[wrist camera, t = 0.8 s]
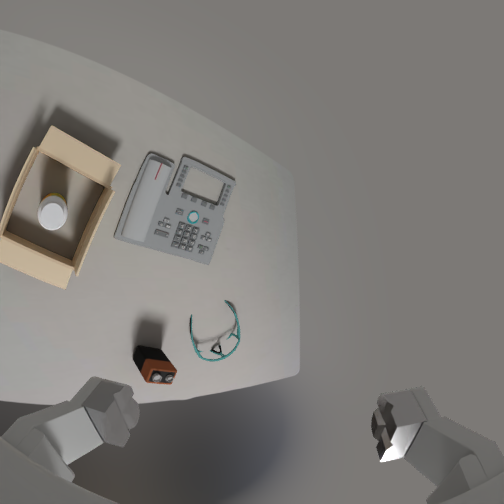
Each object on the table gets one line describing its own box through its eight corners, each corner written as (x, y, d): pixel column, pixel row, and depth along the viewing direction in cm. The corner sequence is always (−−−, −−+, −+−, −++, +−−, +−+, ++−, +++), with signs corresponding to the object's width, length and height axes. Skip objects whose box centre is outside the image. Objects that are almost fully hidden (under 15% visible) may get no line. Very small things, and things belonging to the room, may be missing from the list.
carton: (-4, 252, 34) (-12, 266, 28) (50, 127, 35) (48, 119, 29) (66, 282, 44) (69, 300, 39) (118, 166, 46) (128, 166, 40)
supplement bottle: (66, 191, 41) (68, 196, 34) (67, 220, 42) (69, 232, 35) (39, 193, 37) (35, 199, 30) (40, 223, 39) (37, 236, 32)
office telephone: (114, 241, 48) (153, 139, 47) (112, 237, 49) (148, 140, 49) (212, 267, 63) (243, 183, 62) (206, 263, 65) (236, 182, 64)
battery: (137, 344, 58) (153, 370, 51) (161, 348, 63) (180, 372, 55) (131, 359, 58) (147, 385, 51) (156, 363, 63) (173, 387, 55)
